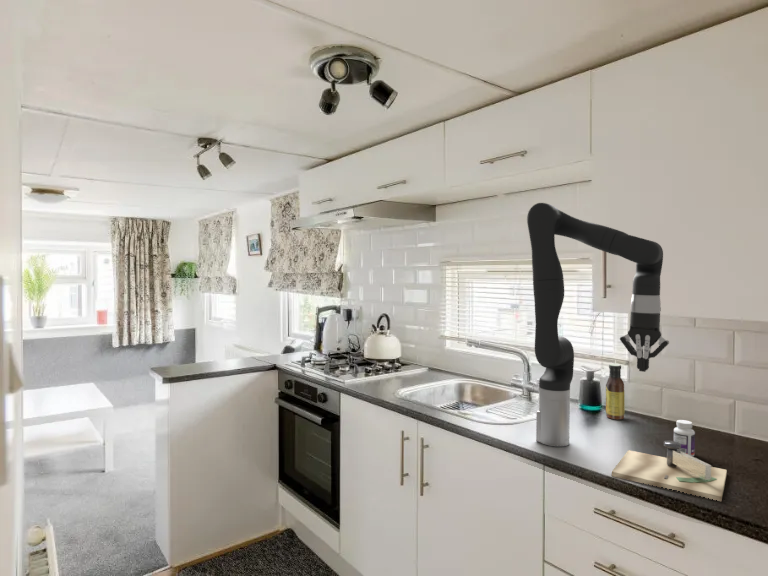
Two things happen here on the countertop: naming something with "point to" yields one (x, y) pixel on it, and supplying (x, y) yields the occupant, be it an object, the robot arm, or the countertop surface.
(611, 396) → the sauce bottle
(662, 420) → the countertop surface
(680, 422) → the pill bottle
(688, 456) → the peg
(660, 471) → the board
